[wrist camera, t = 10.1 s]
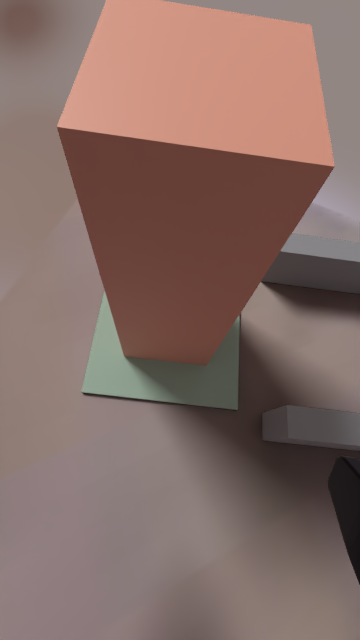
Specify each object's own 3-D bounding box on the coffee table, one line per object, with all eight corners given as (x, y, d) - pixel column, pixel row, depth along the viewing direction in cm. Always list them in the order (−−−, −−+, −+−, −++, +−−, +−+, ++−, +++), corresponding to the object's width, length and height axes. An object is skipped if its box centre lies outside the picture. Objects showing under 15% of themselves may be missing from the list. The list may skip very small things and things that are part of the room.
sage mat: (236, 410, 18) (237, 409, 17) (82, 392, 17) (81, 391, 17) (239, 266, 22) (240, 264, 21) (114, 249, 21) (114, 248, 21)
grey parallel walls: (432, 458, 17) (495, 460, 14) (262, 440, 17) (288, 438, 14) (392, 281, 22) (433, 252, 19) (260, 263, 22) (279, 231, 19)
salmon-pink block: (206, 365, 18) (334, 166, 5) (123, 356, 18) (56, 127, 5) (210, 293, 20) (311, 25, 7) (136, 284, 20) (110, -9, 7)
